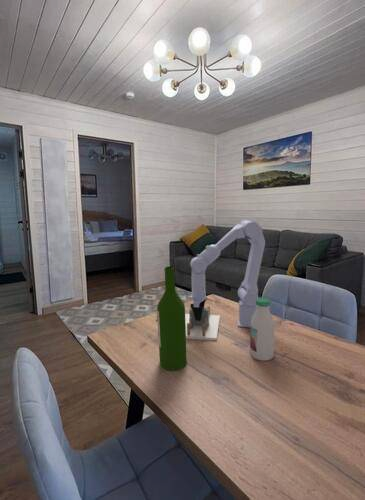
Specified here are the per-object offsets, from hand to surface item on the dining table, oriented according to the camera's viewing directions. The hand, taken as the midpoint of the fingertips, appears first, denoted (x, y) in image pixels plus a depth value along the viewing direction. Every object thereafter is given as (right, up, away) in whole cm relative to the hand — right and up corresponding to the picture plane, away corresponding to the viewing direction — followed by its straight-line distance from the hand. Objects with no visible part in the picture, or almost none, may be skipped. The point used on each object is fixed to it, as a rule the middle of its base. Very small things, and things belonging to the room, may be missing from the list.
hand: (199, 317), depth 114 cm
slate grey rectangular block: (0, -3, +1) cm, 3 cm away
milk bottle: (+20, -8, -21) cm, 30 cm away
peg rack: (0, -4, +1) cm, 4 cm away
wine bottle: (-10, -9, -24) cm, 28 cm away
